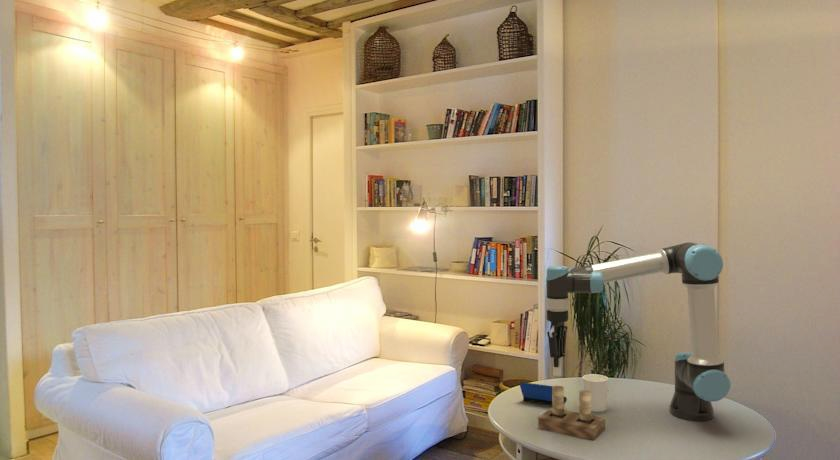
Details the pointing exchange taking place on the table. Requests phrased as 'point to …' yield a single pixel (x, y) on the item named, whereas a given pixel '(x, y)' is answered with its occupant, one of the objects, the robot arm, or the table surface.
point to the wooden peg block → (575, 420)
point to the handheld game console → (537, 393)
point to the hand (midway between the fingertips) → (557, 375)
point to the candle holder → (597, 391)
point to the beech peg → (558, 401)
